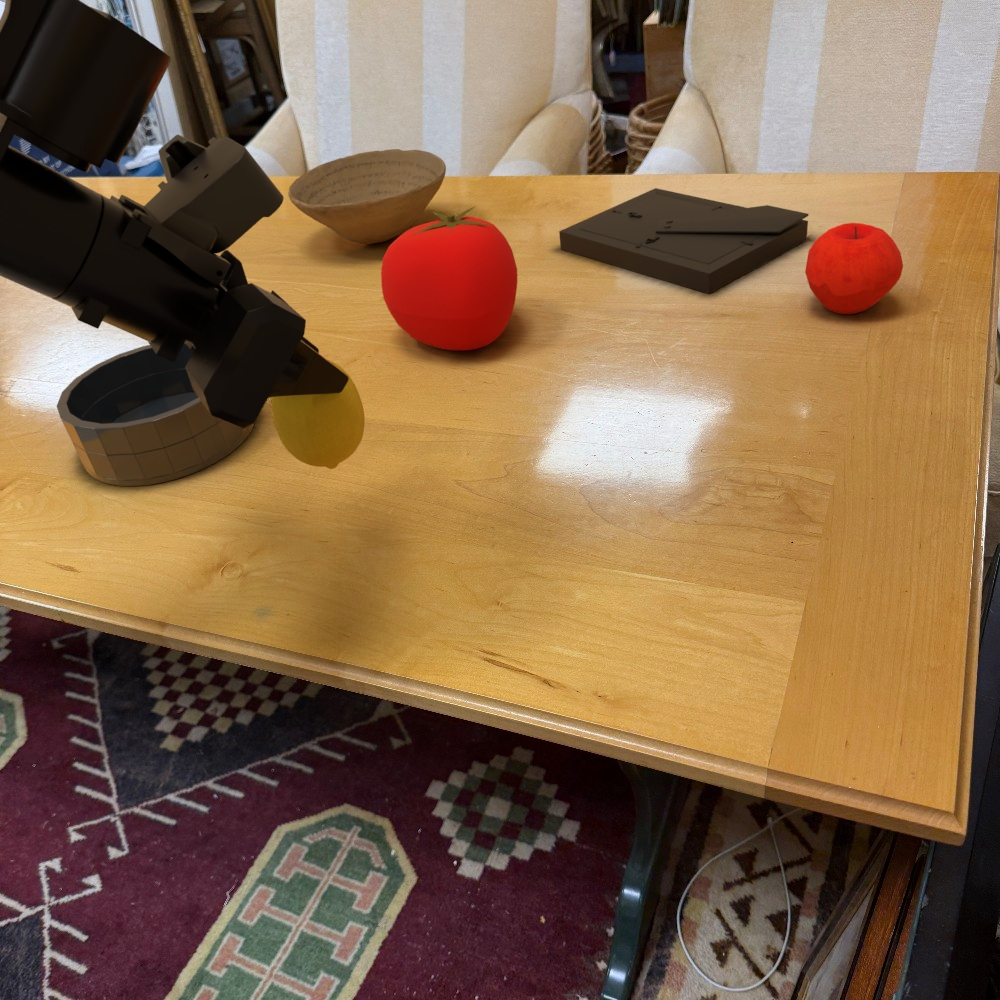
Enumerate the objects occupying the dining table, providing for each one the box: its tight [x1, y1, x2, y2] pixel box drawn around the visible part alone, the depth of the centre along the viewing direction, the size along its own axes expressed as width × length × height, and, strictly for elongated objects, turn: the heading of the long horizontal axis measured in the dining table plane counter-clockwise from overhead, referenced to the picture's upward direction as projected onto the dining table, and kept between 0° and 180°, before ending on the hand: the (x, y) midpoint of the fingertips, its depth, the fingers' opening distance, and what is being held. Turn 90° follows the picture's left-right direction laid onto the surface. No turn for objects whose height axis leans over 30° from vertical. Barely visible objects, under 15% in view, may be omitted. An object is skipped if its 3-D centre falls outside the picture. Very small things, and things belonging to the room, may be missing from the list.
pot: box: [56, 343, 255, 487], centre depth 77 cm, size 15×15×6 cm
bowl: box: [287, 148, 447, 245], centre depth 109 cm, size 18×18×8 cm
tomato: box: [380, 205, 518, 352], centre depth 83 cm, size 12×14×11 cm
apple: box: [804, 222, 904, 315], centre depth 80 cm, size 8×8×7 cm
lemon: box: [271, 359, 366, 470], centre depth 56 cm, size 6×6×8 cm
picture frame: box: [558, 187, 810, 295], centre depth 97 cm, size 16×3×21 cm
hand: (329, 370), depth 55 cm, fingers closed on lemon, 4 cm apart
